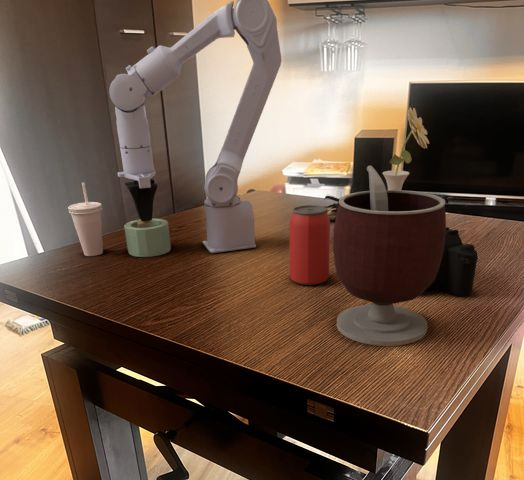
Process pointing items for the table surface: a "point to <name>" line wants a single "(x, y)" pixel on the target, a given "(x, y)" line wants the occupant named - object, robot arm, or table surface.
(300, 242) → the beer can
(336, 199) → the toy figure
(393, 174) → the flower in vase
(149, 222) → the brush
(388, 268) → the mate gourd
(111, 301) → the table surface
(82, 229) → the smoothie
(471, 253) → the film camera
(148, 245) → the pale green hollow ring
